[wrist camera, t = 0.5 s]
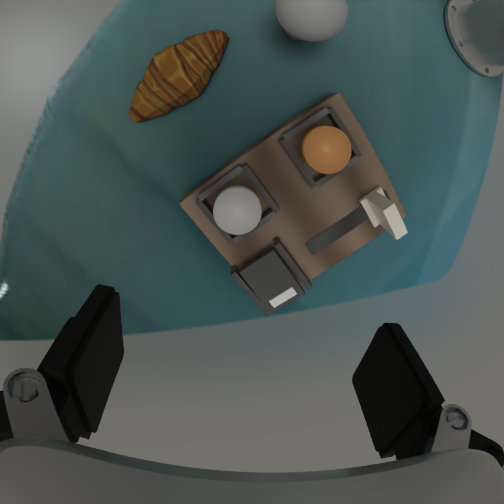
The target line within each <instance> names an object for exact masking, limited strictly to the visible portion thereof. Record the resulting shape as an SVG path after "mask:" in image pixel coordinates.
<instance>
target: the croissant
mask: <svg viewBox="0 0 504 504" xmlns="http://www.w3.org/2000/svg"><path fill="white" fill-rule="evenodd" d="M228 40H229V37H228V36H227V34H226V33H225V32H223V31H221V30H219V29H218V30H214V31H209V32H205V33H201V34H198V35H194V36H191V37H187V38H186V39H185V40H184V41H183V42H181V43H179V44H175V45H171V46H169V47H167V48H165V49H164V50H162V51H160V52H158V53H157V54H155V55H154V57H153V58H152V60H151V62H150V63H149V65H148V67H147V68H146V71H145V74H144V78H143V80H142V81H141V82H140V83H139V84H138V85H137V88H136V91H135V94H134V97H133V100H132V103H131V107H130V111H129V115H130V117H131V119H132V120H134V121H136V122H137V123H140V122H143V121H146V120H149V119H152V118H154V117H157V116H160V115H163V114H166V113H168V112H169V111H170V110H171V109H172V108H173V107H177V106H181V105H184V104H186V103H187V102H189V101H190V100H192V99H194V98H195V97H197V96H198V95H199V94H200V93H201V91H202V90H203V88H204V87H205V86H206V84H207V83H208V82H209V78H210V75H211V72H212V71H213V70H215V69H216V68H217V67H218V65H219V62H220V60H221V57H222V55H223V53H224V50H225V48H226V45H227V43H228Z"/></svg>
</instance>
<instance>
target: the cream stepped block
mask: <svg viewBox="0 0 504 504" xmlns="http://www.w3.org/2000/svg"><path fill="white" fill-rule="evenodd" d="M359 201H360V203H361V205H362V207H363V209H364V211H365V212H366V214H367V216H368V218H369V220H370V222H371V224H372V225H373V226H374V227H376V226H378V225H379V224H380V225H381V226H382V227H383V228H384V229H386V230H387V231H388V232H389V233H390V234H391V235H392V236H393V237H394V238H395V239H396V240H398V239H399V238H401V237H402V236H403V235H405V234H406V233H408V232H407V230H406V227H405V225H404V223H403V220H402V218H401V216H400V214H399V212H398V210H397V207H396V205H395V203H393V202H392V201H390V200H389V199H387V198H386V196H385V194H384V192H383V190H382V188H381V187H377V188H376V189H374V190H373V191H371V192H370V193H368V194H367V195H365V196H364V197H362V198H361V199H359Z"/></svg>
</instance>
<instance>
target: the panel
mask: <svg viewBox="0 0 504 504" xmlns="http://www.w3.org/2000/svg"><path fill="white" fill-rule="evenodd" d="M320 125H325V126H332V127H335V128H338V129H340V130H341V131H343V132H344V133H345V134H346V136H347V137H348V139H349V141H350V143H351V157H350V160H349V162H348V164H347V165H346V166H345V167H344V168H343V169H342V170H340V171H339V172H336V173H333V174H323V173H320V172H318V171H316V170H314V169H313V168H312V167H311V166H309V165H308V164H307V163H306V162H305V160H304V159H303V157H302V154H301V141H302V139H303V137H304V135H305V134H306V132H307V131H308V130H310V129H311V128H313V127H316V126H320ZM236 184H239V185H245V186H247V187H249V188H251V189H252V190H253V191H254V192H255V193H256V194H257V196H258V198H259V200H260V205H261V211H262V213H261V219H260V221H259V223H258V224H257V226H256V227H255V228H254V229H253V230H251V231H250V232H248V233H245V234H241V235H234V234H230V233H227V232H225V231H223V230H222V229H221V228H220V227H219V226H218V225H217V223H216V222H215V219H214V215H213V208H214V204H215V201H216V198H217V196H218V194H219V193H220V192H221V191H222V190H223V189H224V188H226V187H228V186H231V185H236ZM377 187H381V188H382V190H383V192H384V194H385V196H386V198H387V199H389V200H390V201H392V202H393V203H395V205H396V207H397V210H398V212H399V214H400V216H401V218H402V219H403V218H404V217H406V216H407V215H406V213H405V211H404V208H403V206H402V204H401V202H400V200H399V198H398V196H397V193H396V191H395V189H394V187H393V185H392V183H391V181H390V179H389V177H388V175H387V173H386V171H385V169H384V167H383V165H382V163H381V162H380V160H379V158H378V156H377V154H376V152H375V150H374V149H373V147H372V145H371V143H370V141H369V140H368V138H367V136H366V134H365V133H364V131H363V129H362V128H361V126H360V124H359V123H358V121H357V119H356V118H355V116H354V114H353V113H352V111H351V109H350V108H349V106H348V105H347V103H346V102H345V100H344V98H343V97H342V95H341V94H340V92H338V93H333V94H330V95H328V96H327V97H325V98H324V99H322V100H320V101H319V102H317V103H315V104H314V105H312V106H311V107H309V108H308V109H306V110H304V111H303V112H301V113H300V114H298V115H297V116H295V117H293V118H292V119H290V120H289V121H287V122H286V123H284V124H283V125H281V126H280V127H278V128H277V129H275V130H274V131H272V132H271V133H269V134H268V135H266V136H265V137H264V138H262V139H261V140H259V141H258V142H256V143H255V144H253V145H252V146H251V147H249V148H248V149H246V150H245V151H244V152H242V153H241V154H239V155H238V156H237V157H235V158H234V159H232V160H231V161H230V162H228V163H227V164H226V165H224V166H223V167H222V168H220V169H219V170H218V171H216V172H215V173H214V174H212V175H211V176H210V177H208V178H207V179H206V180H204V181H203V182H202V183H200V184H199V185H198V186H196V187H195V188H194V189H193V190H191V191H190V192H189V193H187V194H186V195H185V196H184V197H183V198H182V200H181V201H180V203H179V205H180V206H181V207H182V208H183V209H184V211H185V212H186V213H187V214H188V215H189V216H190V218H191V219H192V220H193V221H194V222H195V224H196V225H197V226H198V227H199V228H200V230H201V231H202V232H203V233H204V234H205V235H206V237H207V238H208V239H209V240H210V241H211V242H212V244H213V245H214V246H215V247H216V248H217V249H218V251H219V252H220V253H221V254H222V255H223V256H224V258H225V259H226V260H227V261H228V262H229V263H230V265H231V266H232V267H231V276H232V277H233V278H234V279H235V280H236V281H237V282H238V284H239V285H240V286H241V287H242V288H243V289H244V290H245V291H246V293H247V294H248V295H249V296H250V297H251V298H252V299H253V300H254V301H255V303H256V304H257V305H258V306H259V307H260V308H261V309H262V310H263V312H264V313H265V314H266V315H269V314H270V312H269V310H268V309H267V308H266V307H265V305H264V304H263V303H262V301H261V300H260V299H259V298H258V296H257V295H256V294H255V292H254V291H253V290H252V289H251V287H250V286H249V285H248V283H247V282H246V281H245V279H244V278H243V277H242V276H241V274H240V273H239V272H240V269H241V268H243V267H244V266H246V265H247V264H249V263H250V262H252V261H253V260H255V259H257V258H258V257H260V256H261V255H263V254H264V253H266V252H267V251H269V250H270V249H272V248H273V247H274V248H275V250H276V251H277V253H278V254H279V255H280V257H281V258H282V260H283V261H284V262H285V264H286V265H287V267H288V268H289V269H290V271H291V272H292V274H293V275H294V276H295V278H296V279H297V281H298V282H299V283H300V285H301V286H302V285H303V284H304V286H305V287H306V288H307V290H310V289H312V288H313V287H312V285H311V282H310V280H311V279H313V278H314V277H316V276H317V275H319V274H321V273H322V272H324V271H325V270H327V269H328V268H330V267H332V266H333V265H335V264H336V263H338V262H339V261H341V260H342V259H344V258H345V257H347V256H348V255H350V254H351V253H353V252H354V251H356V250H357V249H359V248H360V247H362V246H363V245H365V244H366V243H368V242H369V241H371V240H372V239H374V238H375V237H377V236H378V235H380V234H381V233H383V232H384V231H386V229H384V228H383V227H382V226H381V225H380V224H379V225H378V226H376V227H374V226H373V225H372V224H371V222H370V220H369V218H368V216H367V214H366V212H365V211H364V209H363V207H362V205H361V203H360V201H359V199H361V198H362V197H364V196H365V195H367V194H368V193H370V192H371V191H373V190H374V189H376V188H377Z"/></svg>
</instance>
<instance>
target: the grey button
mask: <svg viewBox="0 0 504 504" xmlns="http://www.w3.org/2000/svg"><path fill="white" fill-rule="evenodd" d="M261 213H262V211H261V205H260V200H259V198H258V196H257V194H256V193H255V192H254V191H253V190H252V189H251V188H249V187H247V186H245V185H239V184H236V185H231V186H228V187H226V188H224V189H223V190H222V191H221V192H220V193H219V194H218V196H217V198H216V201H215V204H214V208H213V215H214V219H215V222H216V223H217V225H218V226H219V227H220V228H221V229H222V230H223V231H225V232H227V233H230V234H234V235H241V234H245V233H248V232H250V231H251V230H253V229H254V228H255V227H256V226H257V224H258V223H259V221H260V219H261Z"/></svg>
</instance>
